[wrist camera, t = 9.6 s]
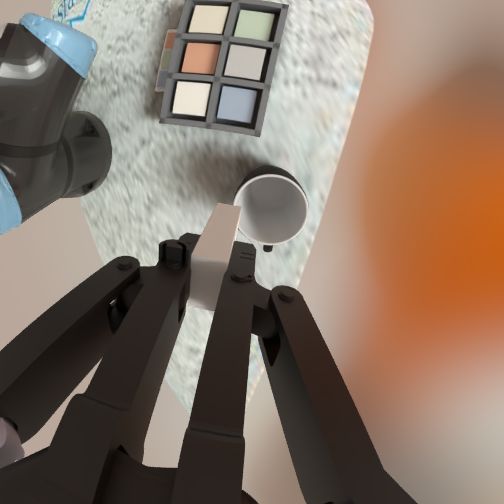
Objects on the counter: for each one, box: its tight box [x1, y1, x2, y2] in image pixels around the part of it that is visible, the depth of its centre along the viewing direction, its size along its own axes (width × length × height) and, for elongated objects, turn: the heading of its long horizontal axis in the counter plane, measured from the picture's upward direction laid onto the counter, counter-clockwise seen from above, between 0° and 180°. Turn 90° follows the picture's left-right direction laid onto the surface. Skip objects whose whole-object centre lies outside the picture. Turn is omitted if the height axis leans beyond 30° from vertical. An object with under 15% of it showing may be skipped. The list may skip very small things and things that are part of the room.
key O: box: [172, 82, 213, 116], centre depth 32 cm, size 4×4×2 cm
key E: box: [234, 10, 274, 42], centre depth 27 cm, size 4×4×2 cm
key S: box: [189, 5, 230, 36], centre depth 26 cm, size 4×4×2 cm
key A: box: [217, 86, 258, 123], centre depth 33 cm, size 4×4×2 cm
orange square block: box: [182, 43, 221, 76], centre depth 30 cm, size 4×4×2 cm
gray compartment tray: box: [155, 0, 289, 137], centre depth 30 cm, size 17×20×4 cm
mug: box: [233, 166, 308, 252], centre depth 37 cm, size 12×9×10 cm
